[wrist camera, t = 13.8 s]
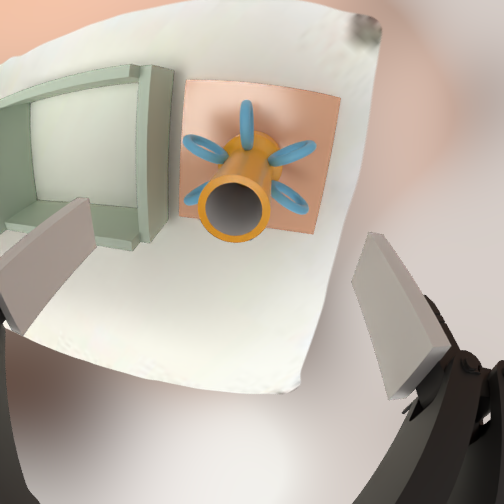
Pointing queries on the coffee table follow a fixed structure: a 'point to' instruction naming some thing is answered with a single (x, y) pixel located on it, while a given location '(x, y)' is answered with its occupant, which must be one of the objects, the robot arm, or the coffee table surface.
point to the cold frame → (147, 157)
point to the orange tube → (244, 180)
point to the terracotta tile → (270, 122)
